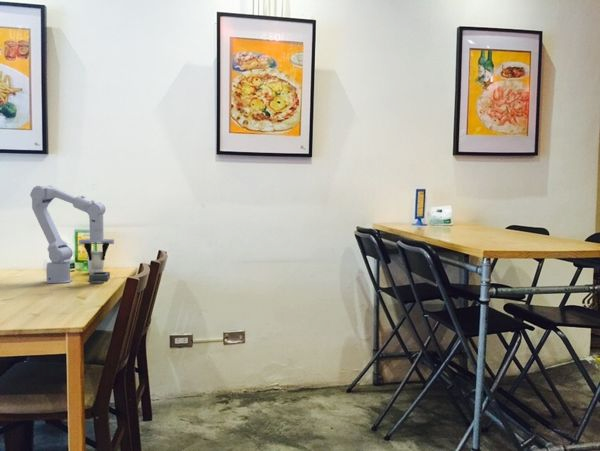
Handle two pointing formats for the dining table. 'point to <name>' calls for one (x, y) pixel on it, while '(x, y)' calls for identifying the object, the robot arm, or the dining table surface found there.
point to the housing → (99, 276)
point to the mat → (97, 282)
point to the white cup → (91, 266)
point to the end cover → (97, 259)
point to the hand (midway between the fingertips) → (96, 260)
